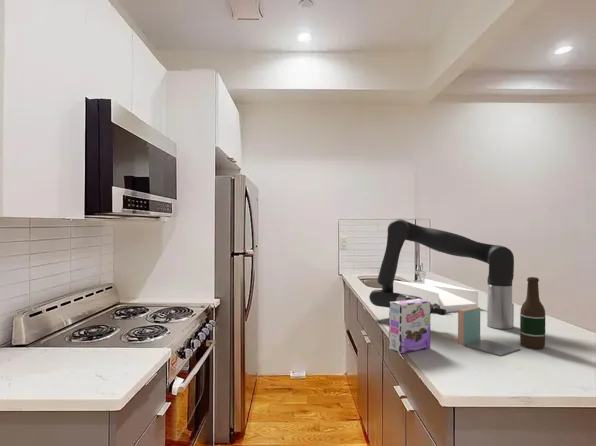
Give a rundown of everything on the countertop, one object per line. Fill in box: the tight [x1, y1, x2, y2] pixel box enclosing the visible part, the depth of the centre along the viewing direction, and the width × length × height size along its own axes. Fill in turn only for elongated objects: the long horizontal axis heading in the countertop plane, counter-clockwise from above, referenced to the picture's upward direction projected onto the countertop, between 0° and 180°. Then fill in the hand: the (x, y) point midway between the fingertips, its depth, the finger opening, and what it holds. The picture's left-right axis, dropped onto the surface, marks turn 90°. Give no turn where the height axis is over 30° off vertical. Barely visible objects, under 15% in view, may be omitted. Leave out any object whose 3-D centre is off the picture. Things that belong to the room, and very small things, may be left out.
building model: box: [393, 278, 479, 313], centre depth 224 cm, size 45×22×10 cm, turn 17°
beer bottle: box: [519, 276, 546, 350], centre depth 147 cm, size 8×8×24 cm
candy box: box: [388, 299, 431, 355], centre depth 144 cm, size 14×6×16 cm, turn 117°
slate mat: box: [464, 339, 521, 357], centre depth 145 cm, size 12×13×1 cm
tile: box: [457, 306, 481, 346], centre depth 152 cm, size 10×2×12 cm, turn 124°
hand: (444, 312), depth 161 cm, fingers closed
